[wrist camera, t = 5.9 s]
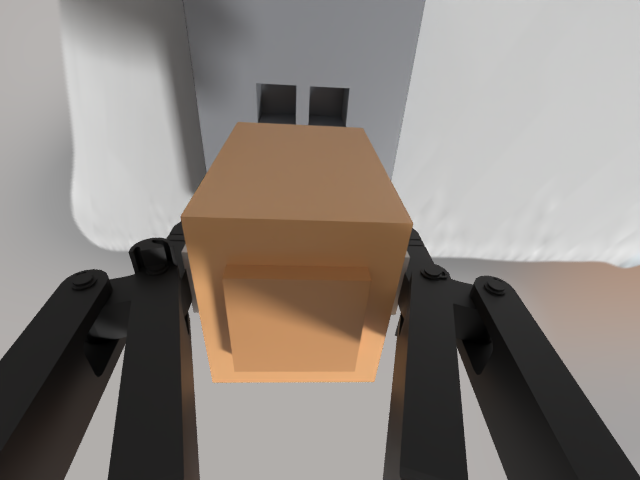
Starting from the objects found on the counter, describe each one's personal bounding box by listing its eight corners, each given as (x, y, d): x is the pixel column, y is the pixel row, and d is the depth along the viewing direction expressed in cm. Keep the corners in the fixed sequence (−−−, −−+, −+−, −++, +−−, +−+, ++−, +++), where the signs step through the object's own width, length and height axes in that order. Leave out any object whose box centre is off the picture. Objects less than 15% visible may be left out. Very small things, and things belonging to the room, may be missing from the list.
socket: (194, -32, 24) (177, -38, 21) (412, -15, 25) (428, -19, 22) (223, 211, 35) (214, 232, 32) (373, 216, 37) (380, 236, 33)
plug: (245, 109, 18) (173, 229, 8) (356, 115, 18) (419, 235, 8) (251, 222, 22) (209, 397, 12) (343, 224, 22) (377, 396, 12)
